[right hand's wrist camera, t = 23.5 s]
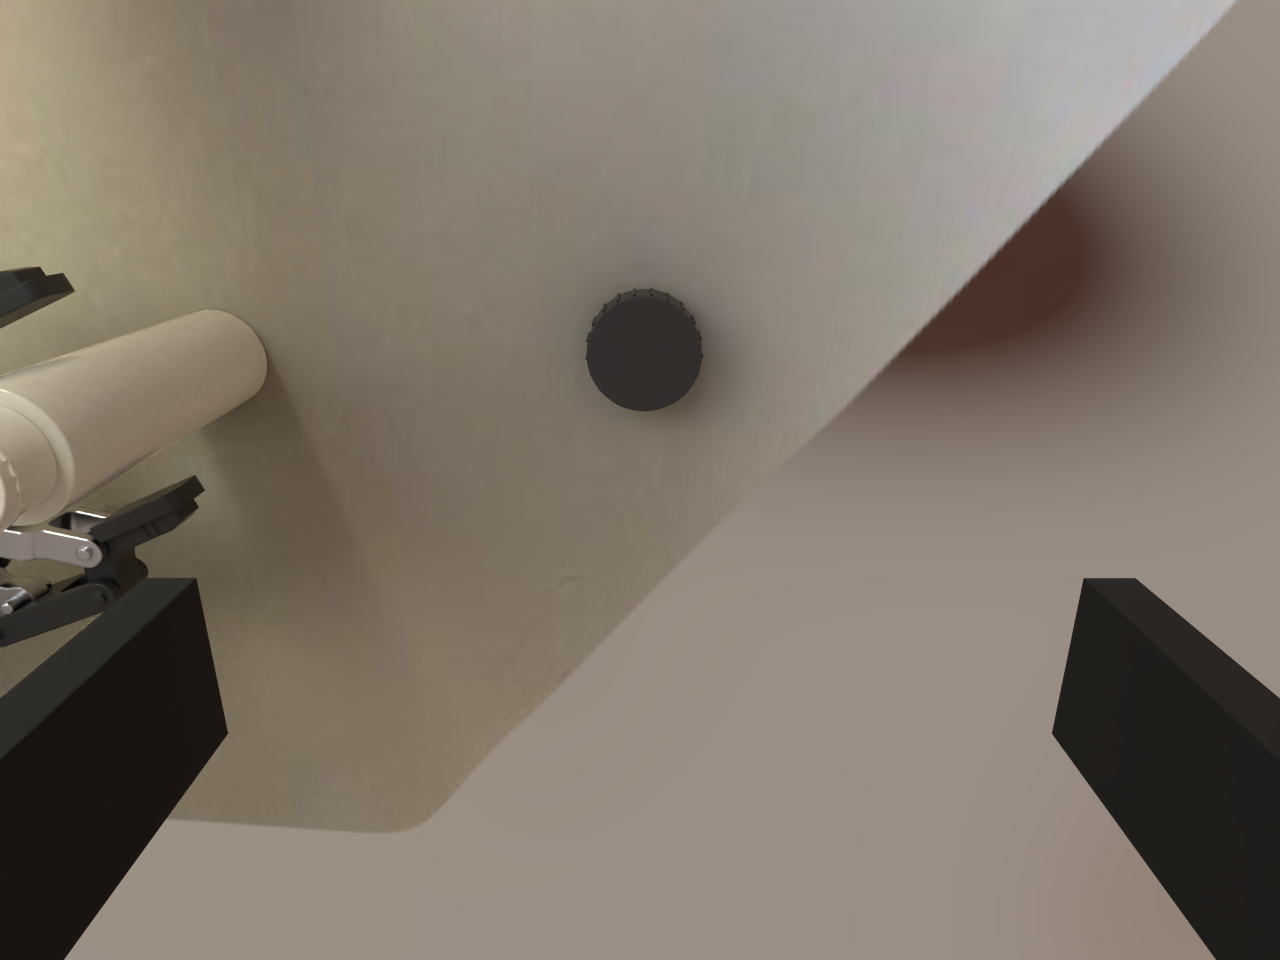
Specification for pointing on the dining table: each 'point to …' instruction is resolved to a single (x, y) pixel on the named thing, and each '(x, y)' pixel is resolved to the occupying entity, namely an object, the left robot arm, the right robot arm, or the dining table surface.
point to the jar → (117, 407)
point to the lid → (644, 350)
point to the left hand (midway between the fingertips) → (125, 390)
